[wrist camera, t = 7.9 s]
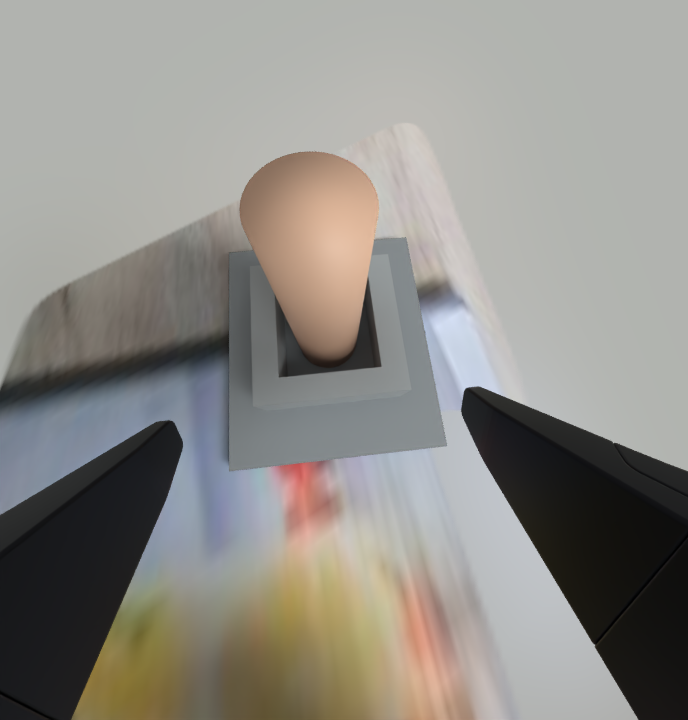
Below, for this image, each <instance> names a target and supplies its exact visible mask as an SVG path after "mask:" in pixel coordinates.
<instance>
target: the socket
mask: <svg viewBox="0 0 688 720" xmlns="http://www.w3.org/2000/svg"><path fill="white" fill-rule="evenodd" d="M443 446H447V442H446V437H445V432H444V427H443V422H442V417H441V412H440V407H439V402H438V396H437V391H436V386H435V381H434V376H433V371H432V366H431V361H430V356H429V351H428V346H427V341H426V336H425V330H424V325H423V320H422V315H421V310H420V305H419V300H418V295H417V290H416V285H415V280H414V275H413V270H412V264H411V259H410V254H409V249H408V244H407V239H406V237H405V238H393V239H381V240H374V243H373V249H372V255H371V260H370V266H369V272H368V278H367V284H366V289H365V295H364V301H363V307H362V313H361V318H360V324H359V330H358V336H357V342H356V347H355V350H354V353H353V354H352V356H351V357H350V358H349V359H348V360H347V361H346V362H345V363H343V364H342V365H339V366H337V367H333V368H323V367H319V366H316V365H314V364H312V363H311V362H310V361H309V360H308V359H307V358H306V357H305V356H304V354H303V352H302V350H301V348H300V346H299V344H298V342H297V340H296V338H295V336H294V334H293V331H292V329H291V327H290V325H289V323H288V321H287V319H286V317H285V315H284V313H283V311H282V308H281V306H280V304H279V302H278V300H277V298H276V296H275V294H274V292H273V290H272V287H271V285H270V283H269V281H268V279H267V277H266V275H265V273H264V271H263V269H262V267H261V264H260V262H259V260H258V258H257V256H256V254H255V252H254V251H242V252H231V253H229V471H236V470H245V469H253V468H262V467H271V466H279V465H288V464H297V463H305V462H314V461H322V460H331V459H340V458H348V457H357V456H366V455H374V454H383V453H391V452H400V451H409V450H417V449H426V448H435V447H443Z"/></svg>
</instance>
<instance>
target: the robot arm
mask: <svg viewBox="0 0 688 720" xmlns="http://www.w3.org/2000/svg"><path fill="white" fill-rule="evenodd" d="M461 412H462V416H463V419H464V421H465V423H466V425H467V427H468V429H469V432H470V434H471V436H472V438H473V440H474V442H475V445H476V447H477V448H478V451H479V453H480V455H481V457H482V459H483V461H484V462H485V464H486V466H487V468H488V469H489V471H490V473H491V474H492V476H493V478H494V479H495V481H496V483H497V484H498V486H499V488H500V489H501V491H502V493H503V494H504V496H505V498H506V499H507V501H508V503H509V504H510V506H511V508H512V509H513V511H514V513H515V514H516V516H517V518H518V519H519V521H520V523H521V524H522V526H523V528H524V529H525V531H526V533H527V534H528V536H529V537H530V539H531V541H532V543H533V544H534V546H535V548H536V549H537V551H538V553H539V554H540V556H541V558H542V559H543V561H544V563H545V564H546V566H547V568H548V569H549V571H550V572H551V574H552V576H553V578H554V579H555V581H556V583H557V584H558V586H559V587H560V589H561V591H562V593H563V594H564V596H565V598H566V599H567V601H568V603H569V604H570V606H571V608H572V609H573V611H574V613H575V614H576V616H577V618H578V619H579V621H580V623H581V624H582V626H583V628H584V629H585V631H586V633H587V634H588V636H589V638H590V639H591V641H592V642H593V644H595V648H596V650H597V651H598V653H599V655H600V656H601V658H602V660H603V661H604V663H605V665H606V666H607V668H608V670H609V671H610V673H611V675H612V676H613V678H614V680H615V681H616V683H617V685H618V686H619V688H620V690H621V691H622V693H623V695H624V696H625V698H626V700H627V701H628V703H629V705H630V706H631V708H632V710H633V711H634V713H635V715H636V716H637V718H638V720H688V471H686V470H683V469H680V468H678V467H675V466H672V465H670V464H667V463H664V462H662V461H659V460H657V459H654V458H652V457H649V456H647V455H644V454H642V453H639V452H637V451H634V450H632V449H629V448H627V447H625V446H622V445H620V444H618V443H613V442H612V441H610V440H607V439H605V438H603V437H600V436H598V435H595V434H593V433H591V432H588V431H586V430H583V429H581V428H578V427H576V426H574V425H571V424H569V423H566V422H564V421H561V420H559V419H556V418H554V417H552V416H549V415H547V414H545V413H542V412H539V411H537V410H535V409H532V408H530V407H528V406H525V405H523V404H520V403H518V402H515V401H513V400H511V399H508V398H506V397H503V396H501V395H499V394H496V393H494V392H491V391H489V390H486V389H484V388H482V387H469V388H466V389H465V391H464V395H463V401H462V408H461ZM182 449H183V441H182V438H181V436H180V434H179V432H178V430H177V427H176V425H175V423H174V422H173V421H170V420H168V421H159V422H155V423H154V424H152V425H150V426H149V427H147V428H145V429H144V430H142V431H140V432H139V433H137V434H135V435H134V436H132V437H130V438H129V439H127V440H125V441H124V442H122V443H120V444H119V445H117V446H115V447H113V448H112V449H110V450H108V451H107V452H105V453H103V454H102V455H100V456H98V457H97V458H95V459H93V460H92V461H90V462H88V463H87V464H85V465H83V466H82V467H80V468H78V469H77V470H75V471H73V472H72V473H70V474H68V475H67V476H65V477H63V478H62V479H60V480H58V481H57V482H55V483H53V484H52V485H50V486H48V487H47V488H45V489H43V490H42V491H40V492H38V493H37V494H35V495H33V496H32V497H30V498H28V499H27V500H25V501H23V502H22V503H20V504H18V505H17V506H15V507H13V508H11V509H10V510H8V511H6V512H5V513H3V514H1V515H0V720H71V719H72V716H73V714H74V712H75V709H76V707H77V705H78V702H79V700H80V698H81V695H82V693H83V691H84V688H85V686H86V684H87V682H88V679H89V677H90V675H91V672H92V670H93V668H94V665H95V663H96V661H97V658H98V656H99V654H100V651H101V649H102V647H103V645H104V642H105V640H106V638H107V635H108V633H109V631H110V628H111V626H112V624H113V621H114V619H115V617H116V614H117V612H118V610H119V608H120V605H121V603H122V601H123V598H124V596H125V594H126V591H127V589H128V587H129V584H130V582H131V580H132V577H133V575H134V573H135V570H136V568H137V566H138V564H139V561H140V559H141V557H142V554H143V552H144V550H145V547H146V545H147V543H148V540H149V538H150V536H151V533H152V531H153V529H154V527H155V524H156V522H157V520H158V517H159V515H160V513H161V510H162V508H163V506H164V503H165V501H166V498H167V496H168V493H169V490H170V487H171V484H172V481H173V477H174V474H175V471H176V468H177V465H178V462H179V458H180V455H181V452H182Z"/></svg>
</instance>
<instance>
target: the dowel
mask: <svg viewBox="0 0 688 720" xmlns="http://www.w3.org/2000/svg"><path fill="white" fill-rule="evenodd" d="M378 213H379V201H378V196H377V193H376V190H375V187H374V186H373V184H372V182H371V180H370V179H369V178H368V176H367V175H366V174H365V173H364V172H363V171H362V170H361V169H360V168H358V167H357V166H356V165H355V164H353V163H351V162H350V161H348V160H346V159H344V158H341V157H339V156H336V155H333V154H328V153H322V152H298V153H293V154H289V155H286V156H282V157H280V158H277V159H275V160H273V161H271V162H270V163H268V164H266V165H265V166H264V167H262V168H261V169H260V170H259V171H258V172H257V173H256V174H254V176H253V177H252V178H251V179H250V180H249V182H248V184H247V185H246V187H245V189H244V191H243V194H242V197H241V201H240V219H241V223H242V226H243V229H244V231H245V233H246V235H247V237H248V239H249V241H250V244H251V246H252V248H253V250H254V252H255V254H256V256H257V258H258V260H259V262H260V264H261V267H262V269H263V271H264V273H265V275H266V277H267V279H268V281H269V283H270V285H271V287H272V290H273V292H274V294H275V296H276V298H277V300H278V302H279V304H280V306H281V308H282V311H283V313H284V315H285V317H286V319H287V321H288V323H289V325H290V327H291V329H292V331H293V334H294V336H295V338H296V340H297V342H298V344H299V346H300V348H301V350H302V352H303V354H304V356H305V357H306V358H307V359H308V360H309V361H310V362H311V363H312V364H314V365H316V366H319V367H323V368H333V367H337V366H339V365H342V364H343V363H345V362H346V361H347V360H348V359H349V358H350V357H351V356H352V354H353V353H354V350H355V347H356V342H357V336H358V330H359V324H360V318H361V313H362V307H363V301H364V295H365V289H366V284H367V278H368V272H369V266H370V260H371V255H372V249H373V243H374V237H375V231H376V226H377V220H378Z"/></svg>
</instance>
